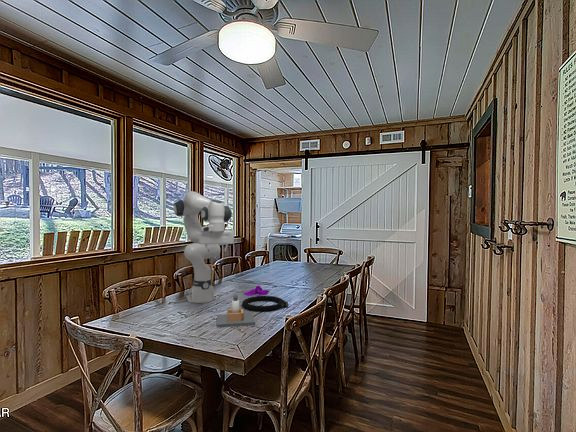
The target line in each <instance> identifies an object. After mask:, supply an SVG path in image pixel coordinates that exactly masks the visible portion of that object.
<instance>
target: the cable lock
mask: <svg viewBox="0 0 576 432" xmlns="http://www.w3.org/2000/svg"><path fill="white" fill-rule="evenodd" d="M255 302H273V303H275V304H272V305H254V304H251V303H255ZM248 303H249V304H248ZM241 305H242V308H244V309H245V310H247V311H251V312H259V313H261V312H263V313H265V312H273V311H275V312H276V311H278V310H280V309H281V310H282V309H288V308H289V302H288V301H286V300H284V299H283V298H281V297H279V296H272V295H261V296H256V295H255V296H249V297H247V298H245V299H244V300H243V301H242V303H241Z"/></svg>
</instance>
